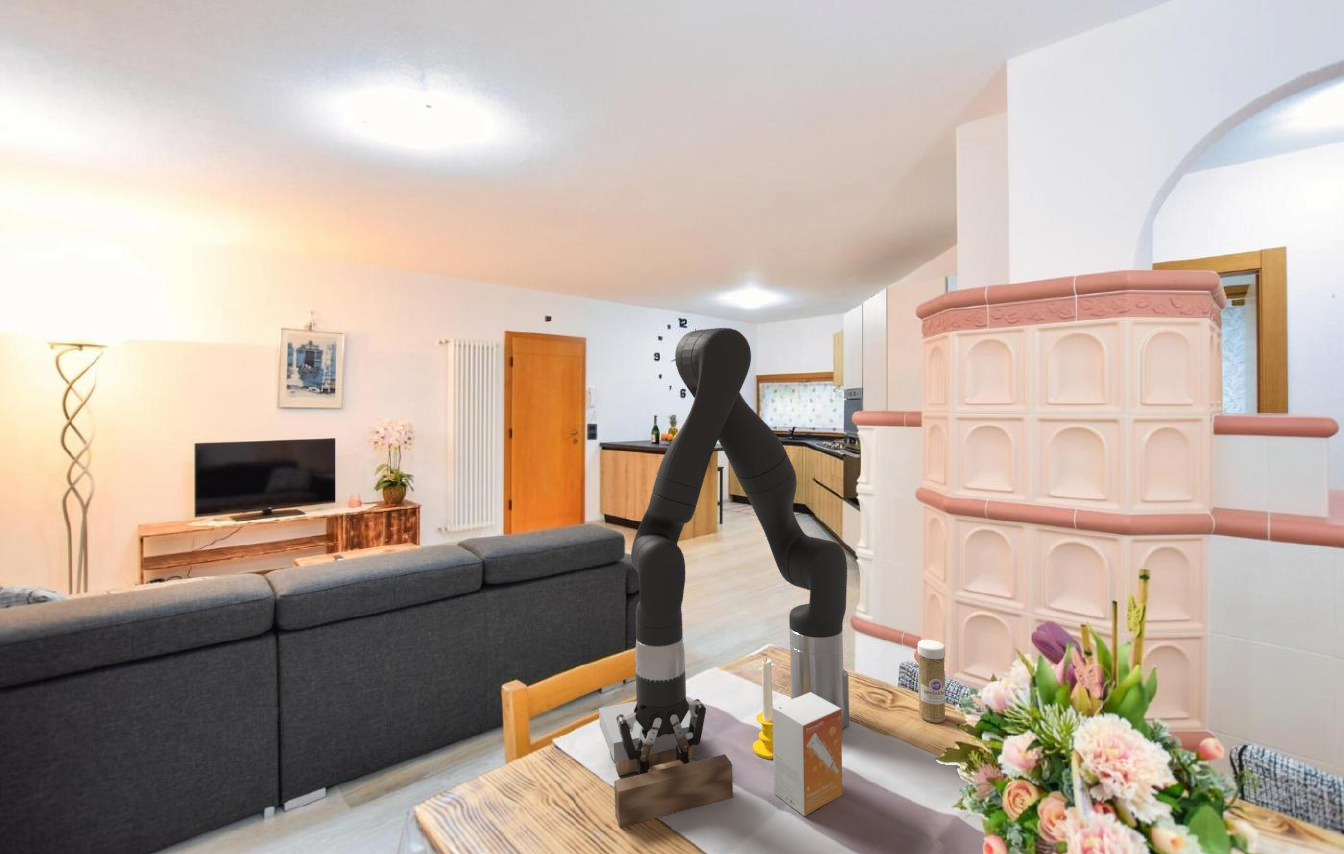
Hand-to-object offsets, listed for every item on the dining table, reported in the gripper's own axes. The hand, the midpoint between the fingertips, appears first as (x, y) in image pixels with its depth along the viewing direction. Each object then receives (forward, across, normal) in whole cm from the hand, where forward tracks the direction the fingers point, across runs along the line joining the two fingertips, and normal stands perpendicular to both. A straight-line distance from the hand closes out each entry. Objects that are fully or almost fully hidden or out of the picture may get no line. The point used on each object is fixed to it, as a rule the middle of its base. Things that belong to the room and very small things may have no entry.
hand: (663, 776), depth 88 cm
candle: (+1, +19, +2) cm, 19 cm away
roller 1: (+1, 0, +5) cm, 5 cm away
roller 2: (0, 0, 0) cm, 0 cm away
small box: (+1, +19, -10) cm, 22 cm away
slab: (-2, 0, +8) cm, 8 cm away
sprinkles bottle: (+1, +51, 0) cm, 51 cm away
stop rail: (+1, 0, -5) cm, 5 cm away
